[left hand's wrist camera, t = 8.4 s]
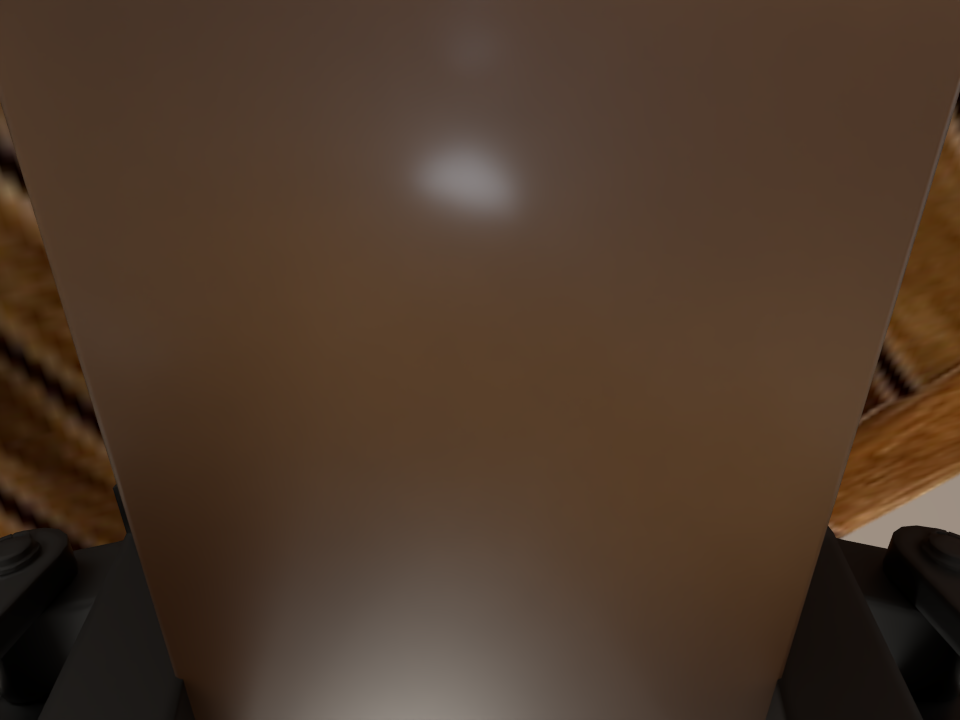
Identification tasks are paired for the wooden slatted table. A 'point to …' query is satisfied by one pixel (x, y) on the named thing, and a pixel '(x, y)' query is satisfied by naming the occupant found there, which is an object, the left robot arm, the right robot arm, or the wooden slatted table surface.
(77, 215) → the box
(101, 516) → the wooden slatted table surface
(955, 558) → the left robot arm
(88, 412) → the wooden slatted table surface
